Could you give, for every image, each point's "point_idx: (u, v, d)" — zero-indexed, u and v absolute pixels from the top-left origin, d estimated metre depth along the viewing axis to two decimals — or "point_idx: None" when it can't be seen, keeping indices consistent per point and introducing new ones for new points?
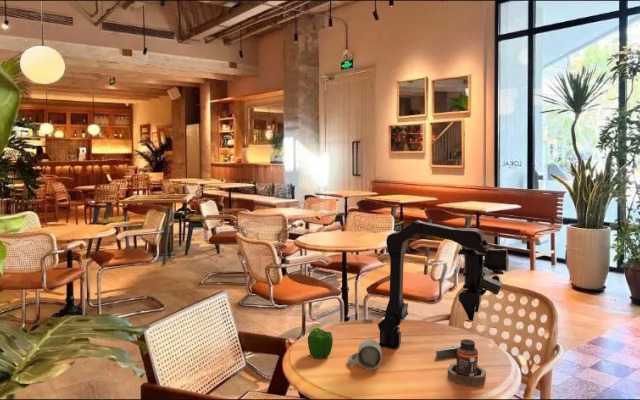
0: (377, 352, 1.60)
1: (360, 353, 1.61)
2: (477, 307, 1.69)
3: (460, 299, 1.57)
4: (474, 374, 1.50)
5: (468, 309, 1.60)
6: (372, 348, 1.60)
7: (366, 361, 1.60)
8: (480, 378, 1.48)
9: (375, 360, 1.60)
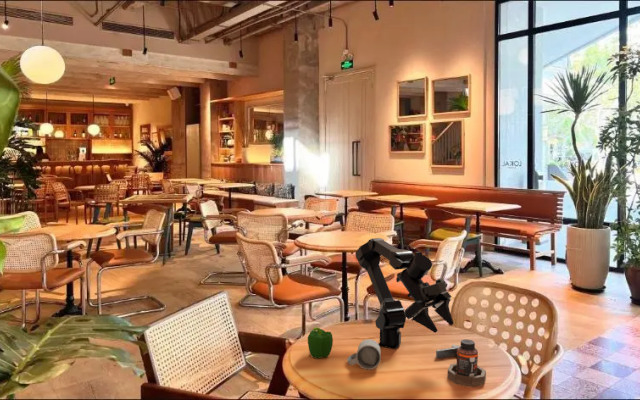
0: (376, 352, 1.60)
1: (359, 353, 1.61)
2: (450, 319, 1.61)
3: (407, 317, 1.55)
4: (474, 374, 1.50)
5: (425, 322, 1.55)
6: (371, 348, 1.60)
7: (365, 361, 1.60)
8: (480, 378, 1.48)
9: (374, 360, 1.60)
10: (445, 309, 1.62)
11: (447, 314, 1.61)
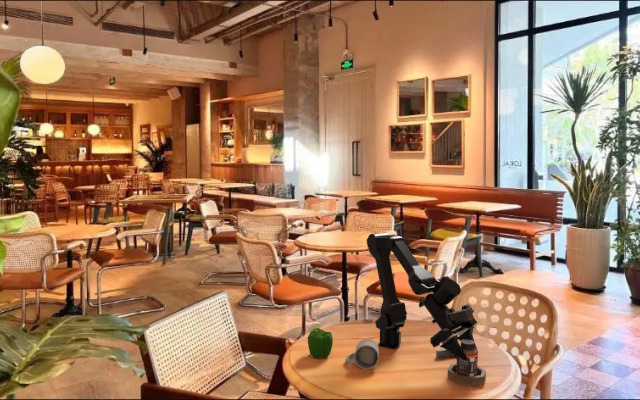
0: (374, 352, 1.60)
1: (357, 353, 1.61)
2: None
3: (433, 345, 1.49)
4: (474, 374, 1.50)
5: (454, 350, 1.50)
6: (369, 348, 1.60)
7: (363, 361, 1.60)
8: (480, 378, 1.48)
9: (372, 360, 1.60)
10: (469, 337, 1.55)
11: None
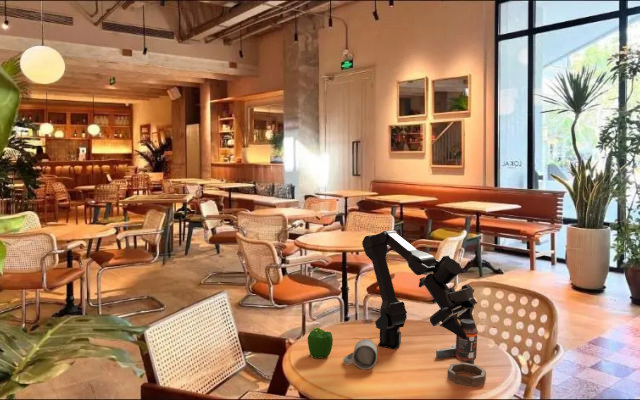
0: (373, 352, 1.60)
1: (356, 353, 1.61)
2: None
3: (432, 324, 1.49)
4: (473, 353, 1.50)
5: (454, 329, 1.50)
6: (368, 348, 1.60)
7: (362, 361, 1.60)
8: (480, 378, 1.48)
9: (371, 360, 1.60)
10: (468, 317, 1.55)
11: None
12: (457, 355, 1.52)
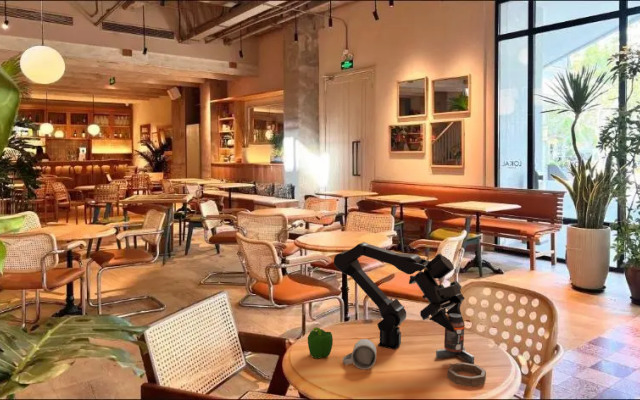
0: (372, 352, 1.60)
1: (355, 353, 1.61)
2: None
3: (423, 318, 1.61)
4: (460, 345, 1.62)
5: (443, 322, 1.61)
6: (367, 348, 1.60)
7: (361, 361, 1.60)
8: (480, 378, 1.48)
9: (370, 360, 1.60)
10: (456, 311, 1.67)
11: None
12: (445, 347, 1.63)
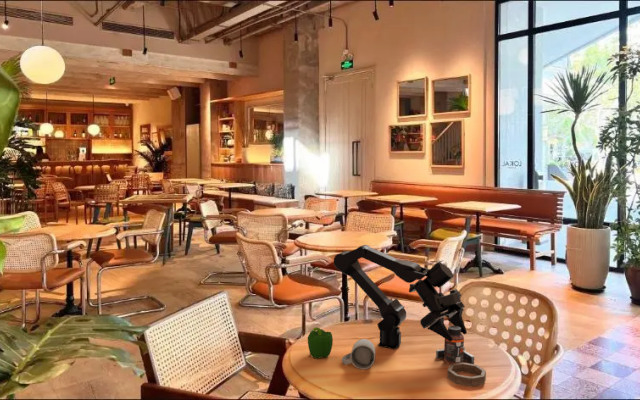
0: (370, 352, 1.60)
1: (354, 353, 1.61)
2: (463, 328, 1.66)
3: (423, 326, 1.61)
4: (460, 357, 1.62)
5: (441, 331, 1.61)
6: (365, 348, 1.60)
7: (359, 361, 1.60)
8: (480, 378, 1.48)
9: (368, 360, 1.60)
10: (458, 319, 1.68)
11: (460, 323, 1.67)
12: (445, 359, 1.64)
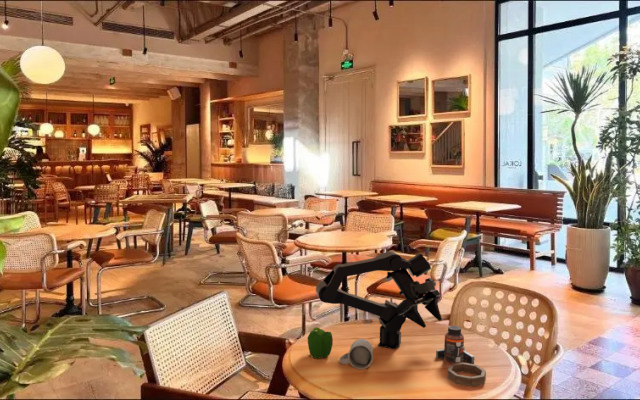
0: (368, 352, 1.60)
1: (351, 353, 1.61)
2: (438, 315, 1.73)
3: (398, 313, 1.67)
4: (460, 358, 1.62)
5: (415, 318, 1.67)
6: (363, 348, 1.60)
7: (357, 361, 1.61)
8: (480, 378, 1.48)
9: (366, 360, 1.60)
10: (434, 306, 1.74)
11: (436, 310, 1.73)
12: (445, 359, 1.64)
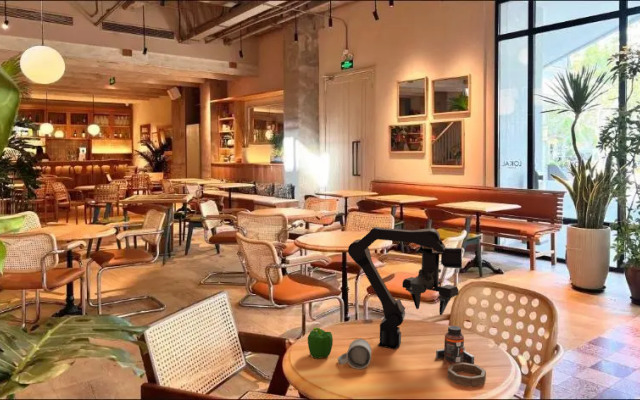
0: (366, 352, 1.60)
1: (350, 353, 1.61)
2: None
3: None
4: (460, 358, 1.62)
5: None
6: (361, 348, 1.60)
7: (356, 361, 1.61)
8: (480, 378, 1.48)
9: (364, 360, 1.60)
10: None
11: None
12: (445, 359, 1.64)
